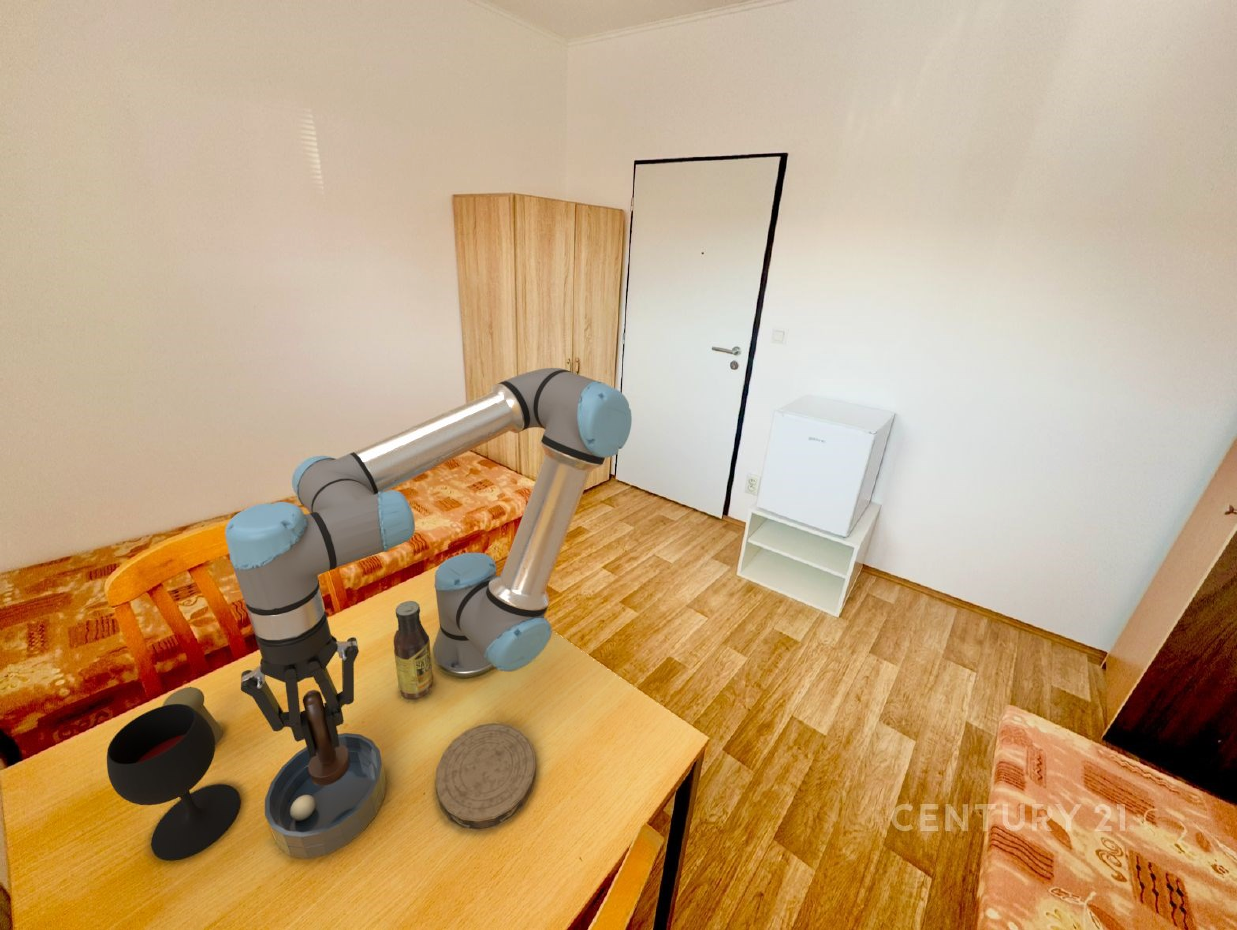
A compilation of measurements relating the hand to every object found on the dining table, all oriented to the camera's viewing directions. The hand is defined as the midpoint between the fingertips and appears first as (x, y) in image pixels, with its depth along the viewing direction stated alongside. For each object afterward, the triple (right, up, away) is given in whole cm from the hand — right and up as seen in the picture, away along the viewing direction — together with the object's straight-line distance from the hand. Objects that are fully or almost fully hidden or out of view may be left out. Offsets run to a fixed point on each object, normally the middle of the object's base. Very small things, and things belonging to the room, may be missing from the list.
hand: (324, 744), depth 71 cm
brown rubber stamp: (-1, -5, +2) cm, 6 cm away
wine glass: (-20, -13, +2) cm, 24 cm away
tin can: (+21, -12, +11) cm, 26 cm away
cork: (-29, -7, +13) cm, 32 cm away
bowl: (-2, -12, +5) cm, 14 cm away
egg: (-5, -11, +3) cm, 12 cm away
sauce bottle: (+3, -3, +26) cm, 26 cm away
